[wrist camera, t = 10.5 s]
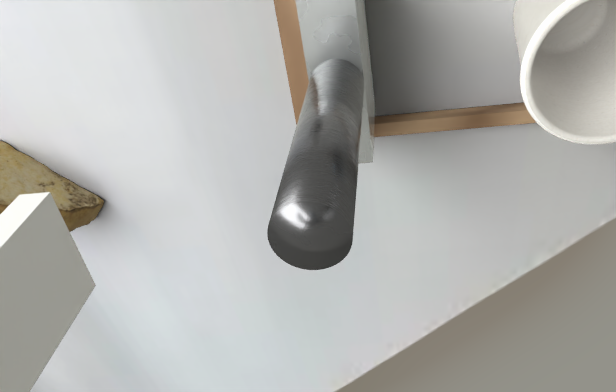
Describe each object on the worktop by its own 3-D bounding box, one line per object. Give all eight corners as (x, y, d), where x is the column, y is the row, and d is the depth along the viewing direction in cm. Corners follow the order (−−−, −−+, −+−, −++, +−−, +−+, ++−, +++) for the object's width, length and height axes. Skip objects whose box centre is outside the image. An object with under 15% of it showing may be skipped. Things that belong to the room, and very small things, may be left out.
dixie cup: (523, 96, 40) (559, 171, 31) (468, -10, 36) (492, 43, 28) (652, 31, 36) (730, 96, 28) (604, -92, 33) (678, -60, 25)
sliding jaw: (359, -45, 36) (332, 101, 18) (375, 105, 41) (366, 336, 23) (311, -38, 36) (237, 111, 18) (332, 109, 41) (292, 338, 23)
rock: (130, 212, 46) (30, 120, 41) (53, 300, 43) (-66, 213, 37) (81, 200, 54) (-7, 122, 49) (13, 274, 51) (-89, 199, 46)
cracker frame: (727, -139, 31) (820, -126, 25) (680, 101, 39) (741, 161, 32) (274, -69, 36) (249, -42, 29) (309, 135, 43) (295, 194, 36)
